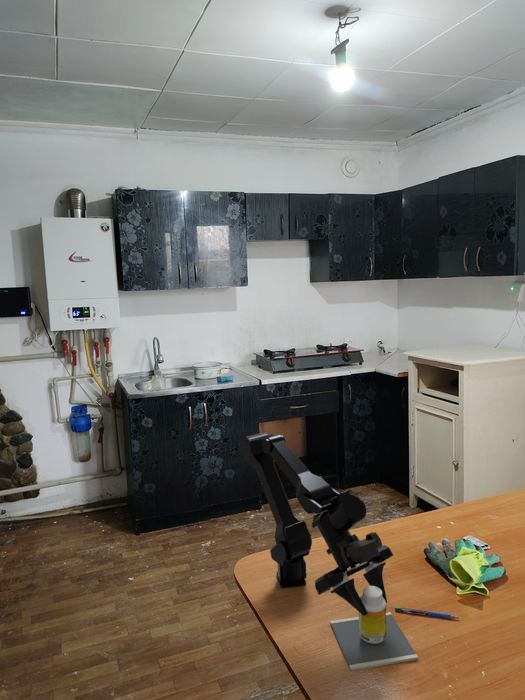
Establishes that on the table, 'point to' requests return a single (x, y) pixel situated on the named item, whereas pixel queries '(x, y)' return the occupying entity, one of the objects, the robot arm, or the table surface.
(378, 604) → the supplement bottle
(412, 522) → the table surface
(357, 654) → the mat
